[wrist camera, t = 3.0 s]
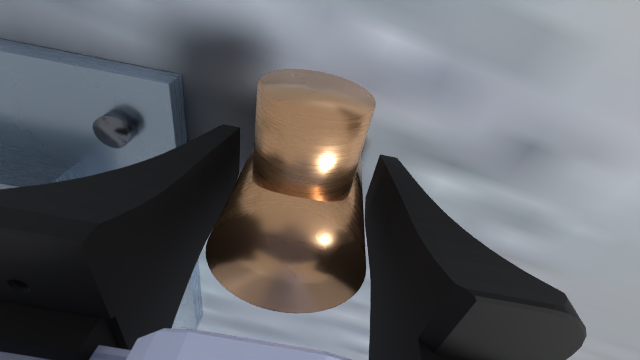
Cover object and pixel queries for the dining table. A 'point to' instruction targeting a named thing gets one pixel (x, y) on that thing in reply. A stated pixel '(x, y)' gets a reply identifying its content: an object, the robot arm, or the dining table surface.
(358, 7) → the dining table surface
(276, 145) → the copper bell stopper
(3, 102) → the flange plate
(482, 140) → the dining table surface
